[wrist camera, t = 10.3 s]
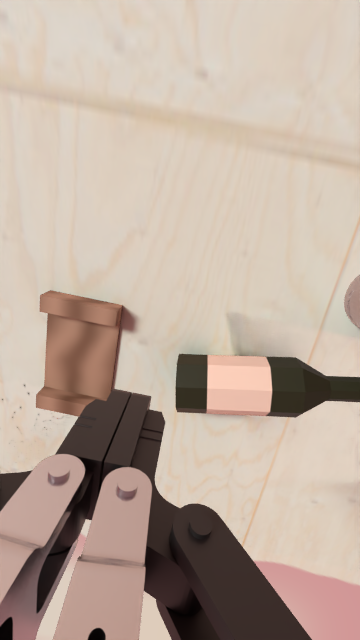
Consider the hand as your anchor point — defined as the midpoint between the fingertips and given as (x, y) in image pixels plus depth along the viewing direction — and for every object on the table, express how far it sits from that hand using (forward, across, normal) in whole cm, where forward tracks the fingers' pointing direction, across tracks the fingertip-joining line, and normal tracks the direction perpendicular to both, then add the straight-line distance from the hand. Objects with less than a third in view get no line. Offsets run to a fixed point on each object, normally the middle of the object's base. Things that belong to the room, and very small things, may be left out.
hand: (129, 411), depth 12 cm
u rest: (+33, +14, +16) cm, 39 cm away
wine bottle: (+29, -2, +16) cm, 33 cm away
